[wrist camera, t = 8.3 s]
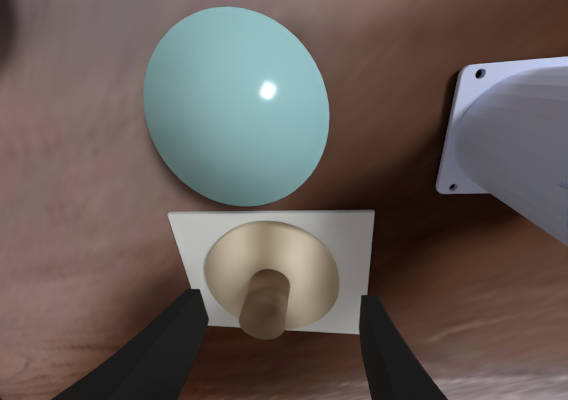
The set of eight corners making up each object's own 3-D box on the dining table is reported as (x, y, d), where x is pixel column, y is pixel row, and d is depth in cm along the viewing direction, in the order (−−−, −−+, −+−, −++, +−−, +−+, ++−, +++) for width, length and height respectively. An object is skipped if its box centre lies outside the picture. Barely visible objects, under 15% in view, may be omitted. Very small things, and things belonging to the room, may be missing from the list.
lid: (329, 211, 19) (332, 252, 15) (345, 318, 24) (351, 372, 20) (190, 228, 22) (158, 268, 17) (230, 322, 27) (213, 372, 22)
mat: (373, 209, 19) (374, 212, 19) (362, 330, 25) (363, 334, 25) (170, 211, 22) (167, 214, 21) (204, 322, 28) (203, 325, 27)
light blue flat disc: (327, 8, 14) (329, -8, 11) (327, 187, 19) (329, 205, 16) (149, 29, 16) (114, 20, 13) (191, 190, 20) (172, 207, 18)
